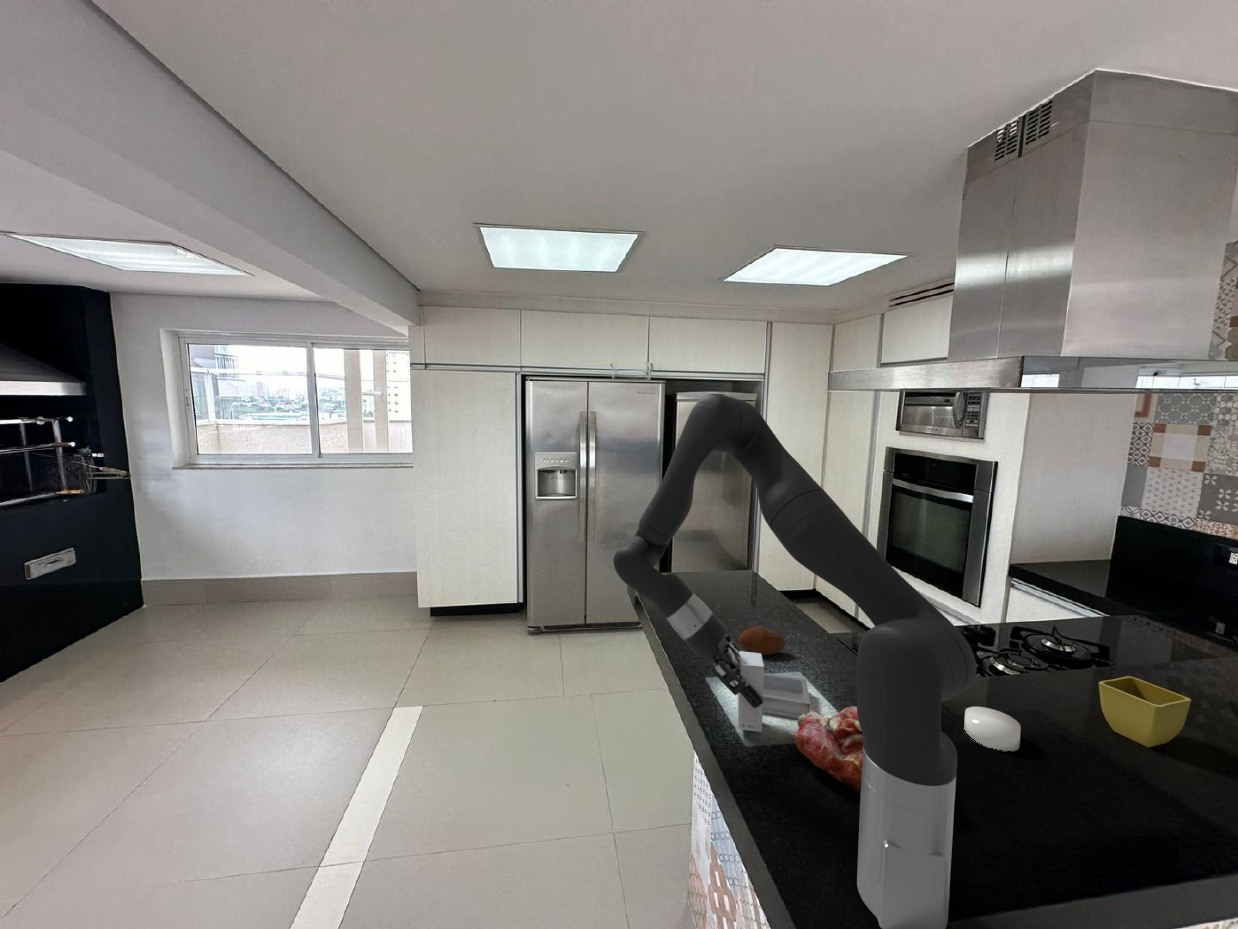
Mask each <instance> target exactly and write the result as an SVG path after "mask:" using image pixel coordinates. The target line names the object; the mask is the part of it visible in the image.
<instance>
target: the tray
mask: <svg viewBox="0 0 1238 929" xmlns="http://www.w3.org/2000/svg"><path fill="white" fill-rule="evenodd" d="M807 681H808V680H807V678H800V677H794V676H793V677H792V676H787V675H780V674H773V673H766V672H764V687H763V713H762V714H767V715H773V716H779V717H785V718H792V719H797V720H798V718H799V716H801V715H803V714H805V715H807V713H809V712H812V710H813V709H812V705H811V699H810V698H811V697H810V694H809V688H808V682H807Z"/></svg>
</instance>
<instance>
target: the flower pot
mask: <svg viewBox="0 0 1238 929" xmlns="http://www.w3.org/2000/svg"><path fill="white" fill-rule="evenodd" d="M1098 690H1099V698H1100V706H1101V710H1102V713H1103V715H1104V718H1105V720H1106V722H1107V723H1108V725H1109V727H1110V728H1111V729H1112V730H1113V731H1114V732H1115V733H1117V734H1119V735H1121V736H1122V737H1123V736H1124V738H1128V739H1130V740H1132V741H1134V742H1136V743H1138V744H1141V745H1143V746H1144V747H1147V748H1151V747H1152V748H1153V747H1155V746H1156V747H1157V746H1159V745H1163V744H1167V743H1169V742H1170V741H1172V740H1173V739H1174V738H1175V737H1176V736H1177V735H1178V734H1179V733H1180V732H1181V730H1182V729H1183V727H1184V726H1185V724H1186V721H1187V716H1188V714H1189V710H1190V705H1191V703H1192V699H1191V698H1189V697H1187V696H1184V695H1182V694H1179V693H1177V692H1174V691H1171V690H1168V689H1166V688H1163V687H1161V686H1158V685H1155V684H1152V683H1150V682H1148V681H1145V680H1142V679H1140V678H1137V677H1133V676H1130V675H1129V676H1123V677H1119V678H1114V679H1107V680H1101V681H1099V682H1098Z"/></svg>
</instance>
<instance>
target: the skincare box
mask: <svg viewBox="0 0 1238 929" xmlns="http://www.w3.org/2000/svg"><path fill="white" fill-rule="evenodd" d="M739 654H740V656H739V665H740V669H741V670H742V672H741V674H742V675H743V676H744V677H745V678H746V680H747V681H748V683H749V684H750V685H751V686H752V687H753V688H754V689H755V691H756V692H757V693H758V694H759V695H760V696H761V697H762V698H763V687H764V673H765V663H764V659H763V655H761V653H754V652H751V651H744V650H742V651H740V652H739ZM738 677H739V676H738ZM736 704H737V705H736V708H737V709H736V714H737V729H738V730H744V731H752V732H757V733H758V732H760V733H762V732H763V714H764V713H763V703H762V704H761V705H760V706H759V707H757V708H753V707H752V706H751V705H750V703H749V702H748V701H747V700H746V699H745V698H744V697H743V696H742V694H741V693H738V694H737V703H736Z"/></svg>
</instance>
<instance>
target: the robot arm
mask: <svg viewBox="0 0 1238 929" xmlns="http://www.w3.org/2000/svg"><path fill="white" fill-rule="evenodd" d="M712 452H717V453H724V454H728V455H730V456H732V457H733V458H734V459H735V460H736V461H737V462H738V463H739V464H740V465H741V466H742V467H743V469H745V471H746V473H748V474H749V476H750V478H752V480H753V482H754V484H755V487H756V491H757V499H758V503H759V504H758V505H759V506H760V507H759V508H760V513H761V514H762V517H763V519H764V521H765V522H766V524H767V525H768V527H769V529H770V530H771V532H772V533H773V534H774V535H775V537H776V538H777V540H778V541H779V542H780V544H781V545H782V546H783V548H784V549H785V550H786V552H788V554H789V555H790V556H791V557H792V558H793V559H794V560H795V561H797V562H798V563H799V564H800V565H802V566H803V567H804V568H805V569H807V570H808V571H810V572H811V573H813V574H814V575H815V576H817V577H818V578H821V580H823V581H825V582H826V583H828V584H829V585H831V586H832V587H833V588H834V587H835V588H836V589H837V590H838V591H840V592H841V593H842V594H844V595H846V596H847V597H848V598H850V600H852V601H853V603H854V604H856V605H857V606H858V608H860V610H861V611H862V612H863V613H864V614H865V616H866V617H867V618H868V619H869V620H870V622H871V623H872V625H874V626H872V627H871V628H870V629H868V630H867V631H866V633H864V635H863V636H862V638H861V640H860V642H859V646H858V651H857V655H856V656H857V657H856V706H857V717H858V722H859V725H860V728H861V731H862V733H863V760H862V779H861V793H860V799H859V800H860V803H859V821H858V822H859V823H858V824H859V826H858V828H859V829H858V844H857V845H858V846H857V849H858V850H857V852H858V853H857V873H856V875H857V877H856V886H857V891H858V893H859V896H860V898H861V900H862V902H863V903H864V904H865V906H866V907H867V908H868V909H869V910H870V912H871V913H872V914H873V915H874V917H875V918H877V922H878V925H879V927H880V928H881V929H946V928H947V925H948V919H949V908H950V907H949V906H950V905H949V904H950V903H949V902H950V888H951V887H950V885H951V884H950V883H951V869H952V867H951V866H952V851H953V850H952V848H953V834H954V833H953V831H954V819H955V818H954V816H955V815H954V813H955V799H956V786H957V782H956V781H957V774H958V773H957V772H958V771H957V769H958V752H957V748H956V746H955V744H954V743H953V741H952V740H951V739H950V737H949V736H947V735H946V734H945V733H944V732H943V731H942V706H943V703H944V702H947V701H949V700H951V699H952V698H954V697H956V696H959V695H960V694H961V693H964V692H965V691H967V690H968V689H970V688H971V686H972V685H973V683H974V682H975V680H976V676H977V661H976V658H975V654H974V652H973V649H972V647H971V646H970V643H969V642H968V641H967V639H966V637H965V636H964V634H962V633H961V631H960V630H959V629H958V628H957V627H956V626H955V625H954V624H953V623H952V622H951V621H950V620H949V619H948V618H947V617H946V616H945V615H944V614H943V613H942V612H940V610H938V609H937V608H936V607H935V606H934V605H933V604H932V603H931V602H930V601H929V600H927V598H926V597H925V596H924V595H922V594H921V593H920V592H919V591H918V590H916V589H915V587H914V586H913V585H912V584H911V583H909V582H908V581H907V580H906V579H905V578H904V577H903V576H902V575H901V574H900V573H899V572H898V571H897V570H896V569H895V568H894V567H893V566H892V565H891V564H890V563H889V562H888V560H886V558H885V557H884V556H883V555H882V554H881V553H880V551H878V549H877V548H876V547H875V546H874V545H873V544H872V543H871V542H870V541H869V539H868V538H867V537H866V536H865V535H864V534H863V533H862V531H860V530H859V529H858V527H857V526H856V525H855V524H854V523H853V522H852V521H851V520H850V519H849V517H848V516H847V515H846V513H845V512H844V511H843V510H842V509H841V508H840V507H839V505H838V504H837V503H836V502H835V501H834V500H833V499H832V497H831V496H830V495H829V494H828V493H827V492H826V491H825V490H824V488H822V486H820V484H819V483H817V482H816V480H815V479H813V477H812V476H811V475H810V474H809V473H808V472H807V471H806V469H805V468H804V467H803V466H802V465H801V464H800V463H799V462H798V461H797V460H796V459H795V458H794V457H793V456H792V455H791V454H790V453H789V451H788V450H786V448H785V447H784V445H783V444H782V443H781V441H780V439H778V438H777V435H776V434H775V433H774V432H773V430H772V428H771V427H770V426H769V425H768V422H766V420H765V418H764V416H762V414H761V413H760V411H758V409H757V408H756V407H755V406H754V405H753V404H751V403H749V402H747V401H746V400H743V399H739V398H735V397H731V396H727V395H725V394H719V393H709V394H706V395H704V396H702V397H701V398H700V399H699V400H697V402H695V404H694V406H693V407H692V410H691V411H690V413H689V415H688V417H687V419H686V422H685V424H684V426H683V429H682V431H681V434H680V437H679V439H678V441H677V444H676V447H675V448H674V451H673V454H672V456H671V459H670V461H669V465H668V466H667V470H666V471H665V475H664V476H663V479H662V481H661V483H660V485H659V487H658V489H657V490H656V492H655V494H654V495H653V497H652V498H651V500H650V501H649V504H648V505H647V507H646V509H645V510H644V512H643V513H642V515H641V516H640V519H639V521H638V529H637V530H636V532H635V533H634V534H633V536H632V537H631V539H630V540H628V542H626V543H625V544H623V545H622V546H621V547H620V548H619V549H618V550H617V551H616V553H615V554H614V557H613V569H615V572H616V574H617V576H618V577H619V579H621V581H622V582H624V583H625V584H626V585H627V586H629V587H630V588H631V589H633V591H635V592H637V593H638V594H640V595H641V596H643V597H644V598H645V599H647V600H648V601H649V602H651V603H653V605H654V606H655V607H656V609H657V611H659V612H660V613H661V614H662V616H664V618H666V620H667V622H669V624H670V626H671V627H672V628H673V630H674V631H675V632H676V633H677V635H678V636H679V637H680V638H681V639H682V640H683V642H685V644H686V645H687V646H688V647H689V648H690V649H691V650H692V651H693V652H694V654H695V655H696V656H697V657H700V658H702V657H705V656H709V658H710V659H711V661H712V663H713V665H714V667H712V668H711V671H712V674H714V675H715V677H716V678H718V680H720V681H721V683H722V684H723V685H724V686H725V687H726V688H727V689H728V690H729V691H730V692H731V694H733V695H734V696H738V693H741V694H742V696H743V697H744V698H745V699H746V700H747V701H748V702H749V703H750V705H751V706H752V707H753V708H757V707H759V706H760V705H761V704H762V703H763V698H762V697H761V696H760V695H759V694H758V693H757V692H756V691H755V689H754V688H753V687H752V686H751V685H750V684H749V683H748V681H747V680H746V678H745V677H744V676H743V675H742V674H741V672H742V670H741V669H740V665H739V656H740V654H739V652H740V651H743V650H742V649H741V647H740V645H738V643H737V642H736V641H735V640H734V639H733V638H732V637H731V635H730V634H729V633H728V628H727V626H725V624H724V623H723V622H722V621H721V620H720V619H719V617H718V616H716V614H715V613H714V612H713V611H712V610H711V609H710V608H709V607H708V605H706V604H705V602H704V601H703V600H702V599H701V598H699V597H698V596H697V595H696V594H695V593H693V590H691V589H690V587H689V586H687V584H686V583H685V582H684V581H683V580H682V579H681V578H680V577H679V575H677V574H675V573H673V572H670V573H669V572H668V573H667V574H663V573H661V572H660V571H659V570H658V569H657V568H655V567H656V565H657V564H658V563H659V562H660V560H661V559H662V557H663V555H664V554H665V552H666V550H667V548H668V546H669V544H670V542H671V540H672V539H673V538H674V537H675V535H676V534H677V532H678V531H679V530H680V528H681V526H682V525H683V523H684V521H685V520H686V518H687V517H688V515H689V513H690V511H691V509H692V505H693V499H694V490H695V489H694V487H695V480H696V476H697V473H698V471H699V469H700V468H701V466H702V465H703V463H704V462H705V460H706V459H707V458H708V456H710V454H711V453H712ZM738 676H739V677H738Z"/></svg>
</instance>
